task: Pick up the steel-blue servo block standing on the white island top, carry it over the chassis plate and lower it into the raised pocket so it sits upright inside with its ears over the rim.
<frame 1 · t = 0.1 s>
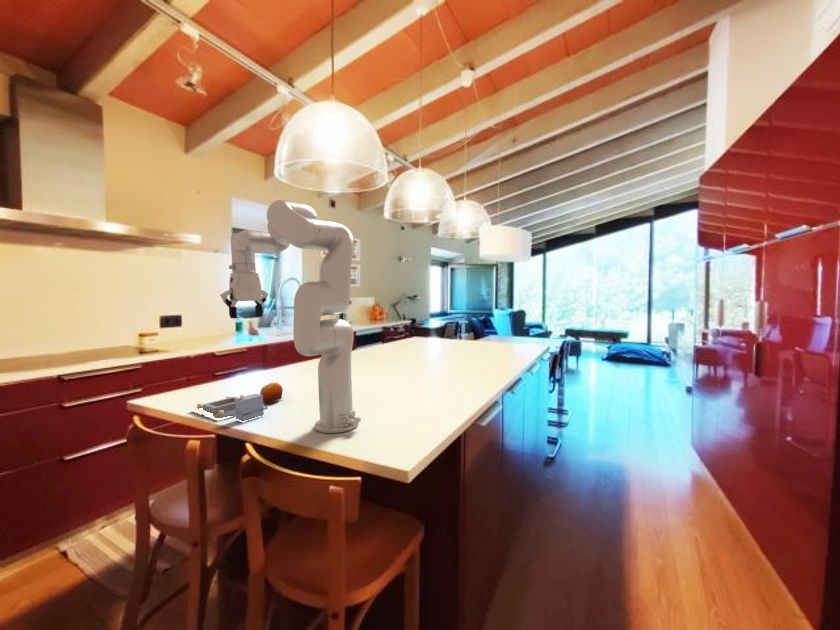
hand: (246, 317, 139), 31 cm above the countertop, tool pointing down, fingers open, 9 cm apart
servo: (250, 418, 124), on the countertop
chassis: (225, 410, 133), on the countertop
fruit: (271, 402, 143), on the countertop
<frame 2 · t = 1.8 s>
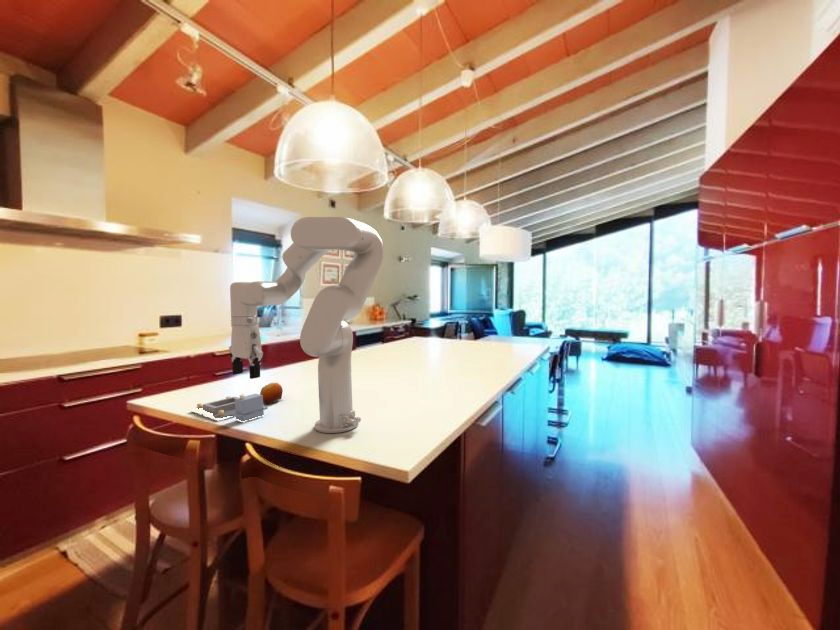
hand: (246, 375, 123), 14 cm above the countertop, tool pointing down, fingers open, 9 cm apart
nothing on the countertop moved.
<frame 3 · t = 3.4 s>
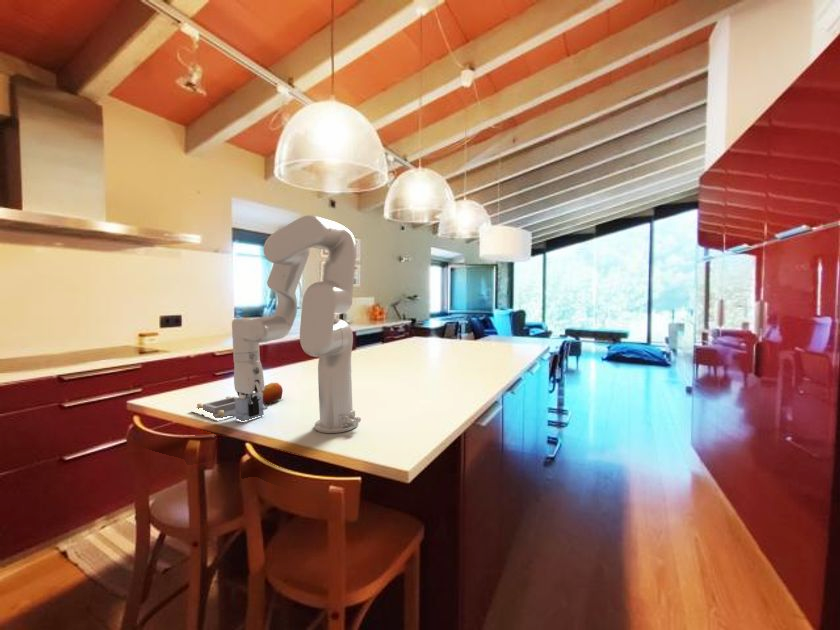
hand: (249, 413, 124), 2 cm above the countertop, tool pointing down, fingers closed on servo, 4 cm apart
servo: (250, 418, 124), on the countertop, touching gripper
everything else where it was.
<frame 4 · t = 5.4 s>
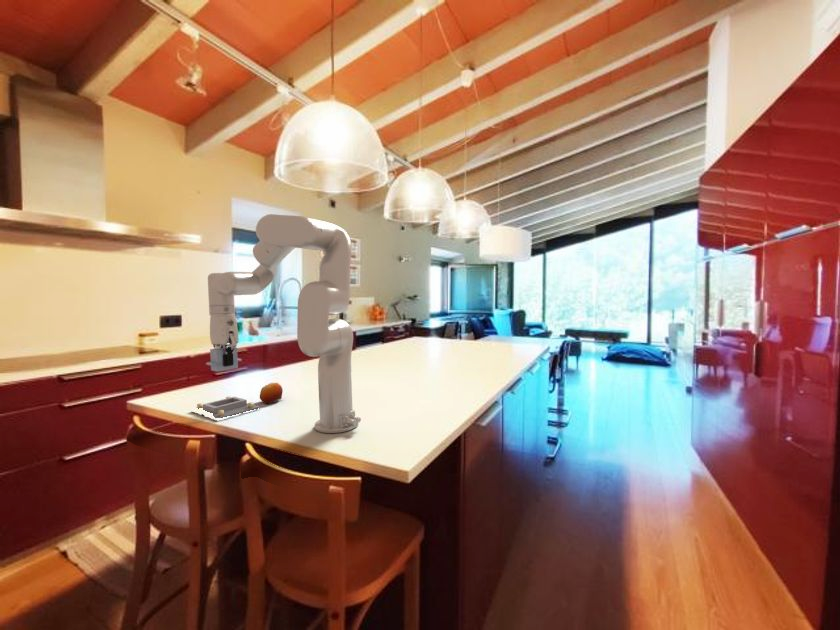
hand: (224, 364, 131), 16 cm above the countertop, tool pointing down, fingers closed on servo, 4 cm apart
servo: (224, 369, 131), point 14 cm above the countertop, touching gripper
everything else where it was.
when the fingers open (4 cm above the countertop, at t = 7.2 s): servo stays where it is, resting on chassis.
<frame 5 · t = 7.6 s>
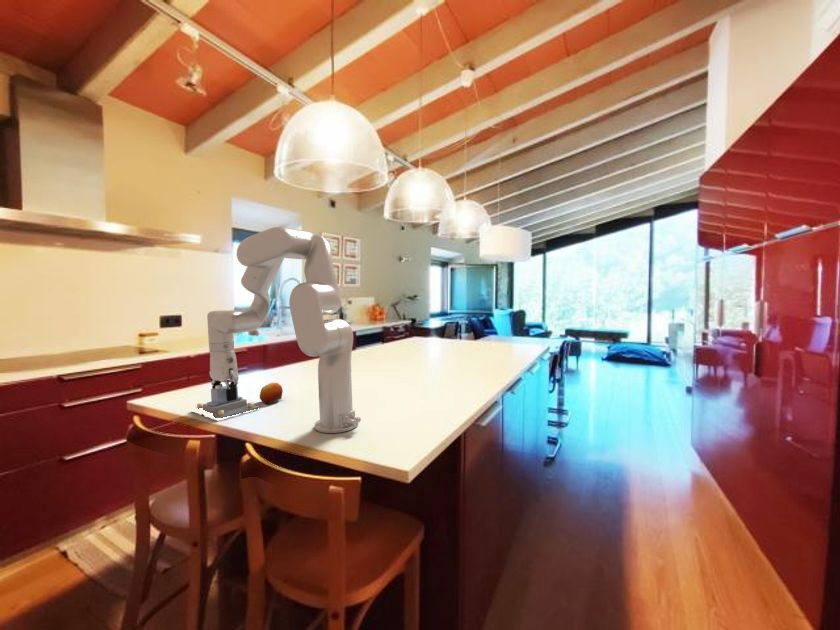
hand: (224, 398, 132), 4 cm above the countertop, tool pointing down, fingers open, 8 cm apart
servo: (225, 407, 133), point 1 cm above the countertop, touching chassis
everything else where it was.
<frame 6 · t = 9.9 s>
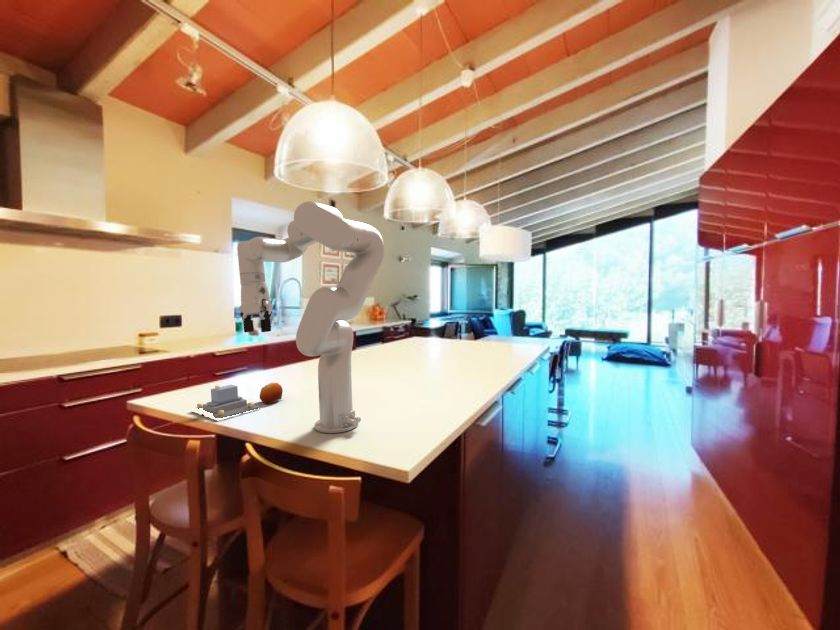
hand: (257, 331, 128), 27 cm above the countertop, tool pointing down, fingers open, 9 cm apart
nothing on the countertop moved.
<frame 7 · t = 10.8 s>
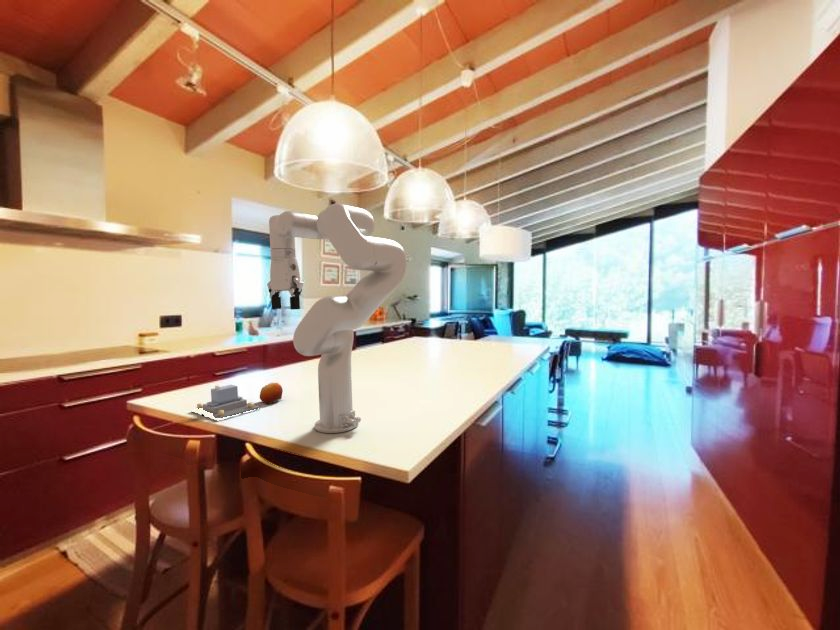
hand: (285, 309, 126), 34 cm above the countertop, tool pointing down, fingers open, 9 cm apart
nothing on the countertop moved.
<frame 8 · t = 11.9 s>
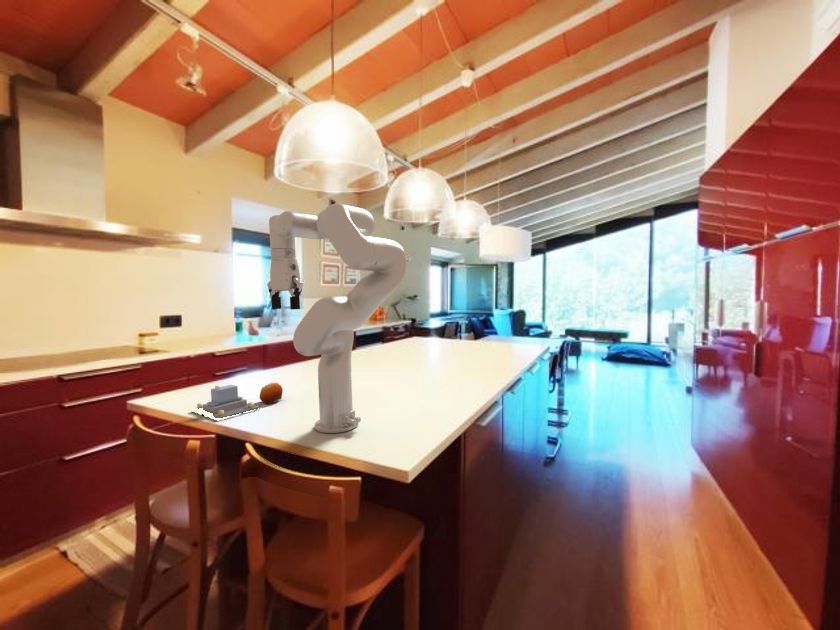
hand: (285, 309, 126), 34 cm above the countertop, tool pointing down, fingers open, 9 cm apart
nothing on the countertop moved.
at the end: servo 0.1 cm off-centre on the chassis, point 1.0 cm above the chassis's base; servo tilted 0°; the gripper is holding nothing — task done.
